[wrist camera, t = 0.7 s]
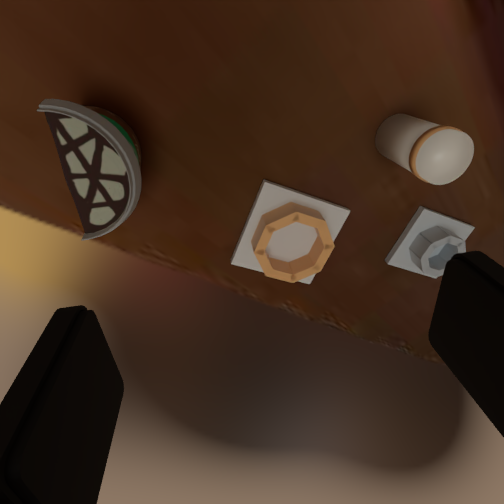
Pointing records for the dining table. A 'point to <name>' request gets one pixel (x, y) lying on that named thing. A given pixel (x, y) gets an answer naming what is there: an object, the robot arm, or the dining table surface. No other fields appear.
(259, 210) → the wide socket
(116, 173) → the food container
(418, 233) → the narrow socket
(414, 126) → the beige peg
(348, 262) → the dining table surface
